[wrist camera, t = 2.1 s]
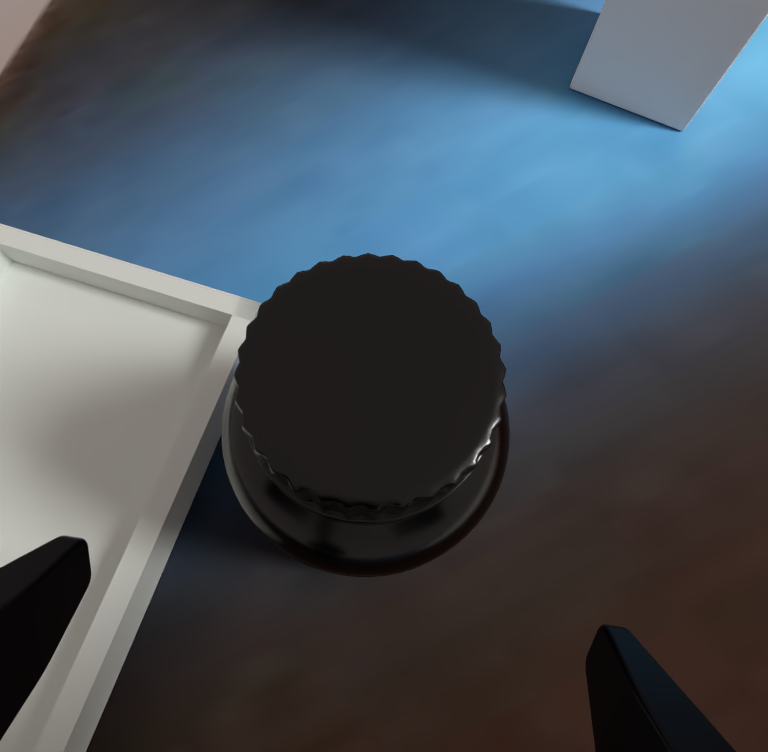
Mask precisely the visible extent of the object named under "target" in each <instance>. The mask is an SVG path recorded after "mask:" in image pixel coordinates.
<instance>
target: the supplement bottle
mask: <svg viewBox="0 0 768 752" xmlns="http://www.w3.org/2000/svg"><path fill="white" fill-rule="evenodd" d="M500 352H501V345H500V344H499V342H498V341H497V340H496V339H495V338H494V336H493V335H492V327H491V323H490V322H489V321H488V320H487V319H486V318H485V317H483V316H482V315H481V313H480V310H479V307H478V305H477V302H475V301H474V300H472V299H471V298H469V297H467V296H465V294H464V292H463V290H462V289H461V287H460V286H459V285H458V284H456V283H453V282H450V281H448V280H447V279H446V278H445V277H444V276H443V275H442V273H441V272H440V271H437V270H433V269H427V268H425V267H424V266H423V265H422V264H420V263H419V262H417V261H403V260H401V259H400V258H398V257H396V256H394V255H389V256H382V257H379V256H376V255H373V254H369V253H367V254H363V255H360V256H358V257H351V256H341V257H339V258H337V259H336V260H334V261H331V262H327V261H325V262H319V263H317V264H316V265H315V266H314V267H312V268H311V269H310V270H307V271H301V272H297V273H296V274H295V275H294V276H293V278H292V279H291V280H290V282H288V283H285V284H282V285H280V286H278V287H277V288H276V290H275V291H274V293H273V295H272V297H271V298H270V299H269V300H267V301H265V302H264V303H262V304H261V305H260V307H259V309H258V313H257V317H256V318H255V319H254V320H253V321H251V322H250V323H249V324H248V325H247V327H246V339H245V340H244V342H243V343H242V344H241V345H240V347H239V349H238V358H239V364H238V366H237V368H236V371H235V373H234V378H233V381H232V383H231V385H230V388H229V391H228V395H227V398H226V402H225V407H224V411H223V420H222V450H223V458H224V463H225V468H226V472H227V475H228V478H229V481H230V484H231V486H232V489H233V491H234V493H235V496H236V498H237V499H238V501H239V503H240V505H241V506H242V508H243V510H244V511H245V513H246V514H247V515H248V517H249V518H250V520H251V521H252V522H253V523H254V525H255V526H256V527H257V528H258V529H259V530H260V531H261V532H262V534H264V535H265V536H266V537H267V538H268V539H269V540H270V541H271V542H272V543H273V544H275V545H276V546H277V547H279V548H280V549H281V550H283V551H284V552H285V553H287V554H288V555H290V556H292V557H294V558H295V559H297V560H299V561H301V562H303V563H305V564H307V565H309V566H312V567H314V568H317V569H320V570H323V571H326V572H330V573H335V574H339V575H346V576H355V577H375V576H386V575H391V574H396V573H401V572H404V571H407V570H411V569H414V568H416V567H419V566H421V565H423V564H426V563H428V562H430V561H432V560H433V559H435V558H437V557H439V556H441V555H442V554H444V553H445V552H447V551H448V550H450V549H451V548H452V547H454V546H455V545H456V544H458V543H459V542H460V541H461V540H462V539H463V538H464V537H466V536H467V535H468V534H469V533H470V532H471V530H472V529H473V528H474V527H475V526H476V525H477V524H478V523H479V521H480V520H481V519H482V517H483V516H484V515H485V513H486V512H487V510H488V508H489V507H490V505H491V503H492V502H493V500H494V498H495V496H496V494H497V491H498V489H499V487H500V484H501V481H502V478H503V476H504V472H505V468H506V464H507V458H508V451H509V435H510V431H509V417H508V411H507V405H506V402H505V398H506V391H505V387H504V384H503V379H504V376H505V372H506V368H505V366H504V364H503V362H502V361H501V359H500Z"/></svg>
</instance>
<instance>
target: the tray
mask: <svg viewBox="0 0 768 752" xmlns="http://www.w3.org/2000/svg"><path fill="white" fill-rule="evenodd" d="M260 305H261V303H259V302H256V301H253V300H250V299H246V298H243V297H240V296H236V295H233V294H230V293H227V292H223V291H220V290H217V289H213V288H210V287H207V286H204V285H200V284H197V283H194V282H190V281H187V280H184V279H181V278H177V277H174V276H171V275H167V274H164V273H161V272H158V271H154V270H151V269H148V268H144V267H141V266H138V265H135V264H131V263H128V262H125V261H121V260H118V259H115V258H112V257H108V256H105V255H102V254H98V253H95V252H92V251H89V250H85V249H82V248H79V247H75V246H72V245H69V244H66V243H62V242H59V241H56V240H52V239H49V238H46V237H43V236H39V235H36V234H33V233H29V232H26V231H23V230H20V229H16V228H13V227H10V226H6V225H3V224H0V567H2V566H4V565H6V564H8V563H10V562H12V561H13V560H15V559H17V558H19V557H21V556H23V555H25V554H27V553H28V552H30V551H32V550H34V549H36V548H38V547H40V546H41V545H43V544H45V543H47V542H49V541H51V540H53V539H55V538H57V537H59V536H63V535H66V536H72V537H78V538H83V539H85V540H86V542H87V544H88V550H89V557H90V565H91V580H90V583H89V586H88V588H87V590H86V592H85V594H84V596H83V598H82V600H81V602H80V604H79V606H78V608H77V610H76V612H75V614H74V616H73V618H72V620H71V622H70V623H69V625H68V627H67V629H66V631H65V633H64V635H63V637H62V639H61V641H60V643H59V645H58V647H57V649H56V651H55V653H54V655H53V657H52V659H51V660H50V662H49V664H48V666H47V668H46V670H45V671H44V673H43V675H42V676H41V678H40V680H39V681H38V683H37V684H36V686H35V688H34V689H33V691H32V692H31V694H30V695H29V697H28V699H27V700H26V702H25V703H24V705H23V706H22V708H21V709H20V711H19V713H18V714H17V716H16V717H15V719H14V720H13V722H12V723H11V725H10V727H9V728H8V730H7V731H6V733H5V734H4V736H3V737H2V739H1V741H0V752H86V750H87V748H88V745H89V743H90V741H91V738H92V736H93V734H94V731H95V729H96V727H97V724H98V722H99V720H100V717H101V715H102V713H103V710H104V708H105V706H106V703H107V701H108V699H109V696H110V694H111V692H112V689H113V687H114V685H115V682H116V680H117V678H118V675H119V673H120V671H121V668H122V666H123V664H124V661H125V659H126V657H127V654H128V652H129V650H130V647H131V645H132V642H133V640H134V638H135V635H136V633H137V631H138V628H139V626H140V624H141V621H142V619H143V617H144V614H145V612H146V610H147V607H148V605H149V603H150V600H151V598H152V596H153V593H154V591H155V589H156V586H157V584H158V582H159V579H160V577H161V575H162V572H163V570H164V568H165V565H166V563H167V561H168V558H169V556H170V554H171V551H172V549H173V547H174V544H175V542H176V539H177V537H178V535H179V532H180V530H181V528H182V525H183V523H184V521H185V518H186V516H187V514H188V511H189V509H190V507H191V504H192V502H193V500H194V497H195V495H196V493H197V490H198V488H199V486H200V483H201V481H202V479H203V476H204V474H205V472H206V469H207V467H208V465H209V462H210V460H211V458H212V455H213V453H214V451H215V448H216V446H217V444H218V441H219V439H220V436H221V434H222V420H223V411H224V407H225V402H226V398H227V395H228V391H229V388H230V385H231V383H232V381H233V378H234V373H235V371H236V368H237V366H238V364H239V358H238V349H239V347H240V345H241V344H242V343H243V342H244V340H245V339H246V327H247V325H248V324H249V323H250V322H251V321H253V320H254V319H255V318H256V317H257V313H258V309H259V307H260Z"/></svg>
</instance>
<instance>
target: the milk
mask: <svg viewBox="0 0 768 752" xmlns="http://www.w3.org/2000/svg"><path fill="white" fill-rule="evenodd" d="M767 15H768V0H606V1H605V4H604V6H603V8H602V11H601V13H600V15H599V18H598V20H597V22H596V25H595V27H594V29H593V32H592V34H591V37H590V39H589V41H588V44H587V46H586V48H585V51H584V53H583V55H582V58H581V60H580V63H579V65H578V67H577V70H576V72H575V74H574V77H573V79H572V81H571V84H570V88H571V89H573V90H576V91H579V92H581V93H584V94H586V95H589V96H592V97H594V98H597V99H599V100H602V101H605V102H607V103H610V104H612V105H615V106H618V107H620V108H623V109H625V110H628V111H631V112H633V113H636V114H639V115H641V116H644V117H646V118H649V119H652V120H654V121H657V122H659V123H662V124H665V125H667V126H670V127H672V128H675V129H678V130H681V131H683V130H685V128H686V127H687V126H688V124H689V123H690V122H691V120H692V119H693V118H694V116H695V115H696V113H697V112H698V111H699V109H700V108H701V106H702V105H703V104H704V102H705V101H706V100H707V98H708V97H709V95H710V94H711V93H712V91H713V90H714V89H715V87H716V86H717V84H718V83H719V82H720V80H721V79H722V77H723V76H724V75H725V73H726V72H727V71H728V69H729V68H730V66H731V65H732V64H733V62H734V61H735V59H736V58H737V57H738V55H739V54H740V53H741V51H742V50H743V48H744V47H745V46H746V44H747V43H748V42H749V40H750V39H751V37H752V36H753V35H754V33H755V32H756V30H757V29H758V28H759V26H760V25H761V24H762V22H763V21H764V19H765V18H766V17H767Z"/></svg>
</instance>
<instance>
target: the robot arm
mask: <svg viewBox="0 0 768 752" xmlns="http://www.w3.org/2000/svg"><path fill="white" fill-rule="evenodd" d="M90 580H91V565H90V557H89V550H88V544H87V542H86V540H85V539H83V538H78V537H72V536H66V535H63V536H59V537H57V538H55V539H53V540H51V541H49V542H47V543H45V544H43V545H41V546H40V547H38V548H36V549H34V550H32V551H30V552H28V553H27V554H25V555H23V556H21V557H19V558H17V559H15V560H13V561H12V562H10V563H8V564H6V565H4V566H2V567H0V741H1V739H2V737H3V736H4V734H5V733H6V731H7V730H8V728H9V727H10V725H11V723H12V722H13V720H14V719H15V717H16V716H17V714H18V713H19V711H20V709H21V708H22V706H23V705H24V703H25V702H26V700H27V699H28V697H29V695H30V694H31V692H32V691H33V689H34V688H35V686H36V684H37V683H38V681H39V680H40V678H41V676H42V675H43V673H44V671H45V670H46V668H47V666H48V664H49V662H50V660H51V659H52V657H53V655H54V653H55V651H56V649H57V647H58V645H59V643H60V641H61V639H62V637H63V635H64V633H65V631H66V629H67V627H68V625H69V623H70V622H71V620H72V618H73V616H74V614H75V612H76V610H77V608H78V606H79V604H80V602H81V600H82V598H83V596H84V594H85V592H86V590H87V588H88V586H89V583H90ZM586 677H587V685H588V693H589V701H590V709H591V718H592V726H593V734H594V742H595V750H596V752H736V751H735V750H734V749H733V748H732V746H731V745H730V744H729V743H728V742H727V741H726V740H725V739H724V737H723V736H722V735H721V734H720V733H719V732H718V731H717V730H716V728H715V727H714V726H713V725H712V724H711V723H710V722H709V720H708V719H707V718H706V717H705V716H704V715H703V714H702V713H701V711H700V710H699V709H698V708H697V707H696V706H695V705H694V703H693V702H692V701H691V700H690V699H689V698H688V697H687V696H686V694H685V693H684V692H683V691H682V690H681V689H680V688H679V687H678V685H677V684H676V683H675V682H674V681H673V680H672V679H671V677H670V676H669V675H668V674H667V673H666V672H665V671H664V670H663V668H662V667H661V666H660V665H659V664H658V663H657V662H656V660H655V659H654V658H653V657H652V656H651V655H650V654H649V653H648V651H647V650H646V649H645V648H644V647H643V646H642V645H641V644H640V642H639V641H638V640H637V639H636V638H635V637H634V636H633V634H632V633H631V632H630V631H629V630H627V629H626V628H624V627H619V626H613V625H606V624H604V625H601V626H600V627H599V629H598V631H597V633H596V635H595V638H594V640H593V642H592V645H591V647H590V649H589V652H588V654H587V658H586Z"/></svg>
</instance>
